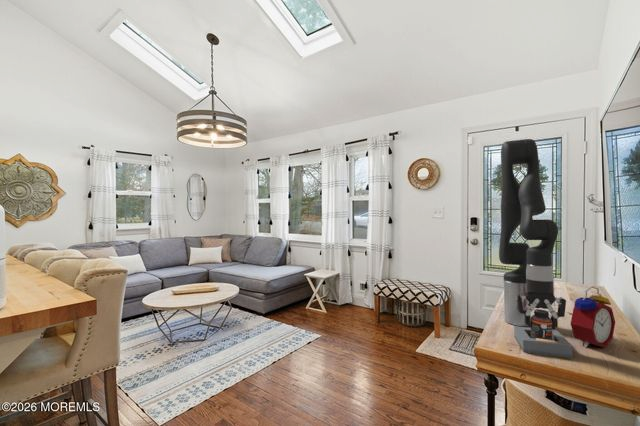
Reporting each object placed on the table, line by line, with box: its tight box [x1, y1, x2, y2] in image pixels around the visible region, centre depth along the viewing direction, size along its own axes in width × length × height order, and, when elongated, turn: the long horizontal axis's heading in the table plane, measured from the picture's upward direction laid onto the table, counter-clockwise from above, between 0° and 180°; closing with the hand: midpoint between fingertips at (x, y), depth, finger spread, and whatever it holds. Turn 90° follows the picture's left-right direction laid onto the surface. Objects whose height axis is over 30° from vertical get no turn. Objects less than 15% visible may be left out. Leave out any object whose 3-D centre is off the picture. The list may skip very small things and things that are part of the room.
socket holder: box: [513, 325, 574, 359], centre depth 102 cm, size 13×13×4 cm
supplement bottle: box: [530, 308, 553, 340], centre depth 102 cm, size 6×6×11 cm
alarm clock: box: [566, 286, 616, 349], centre depth 104 cm, size 15×9×20 cm, turn 114°
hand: (540, 327), depth 102 cm, fingers open, 6 cm apart
